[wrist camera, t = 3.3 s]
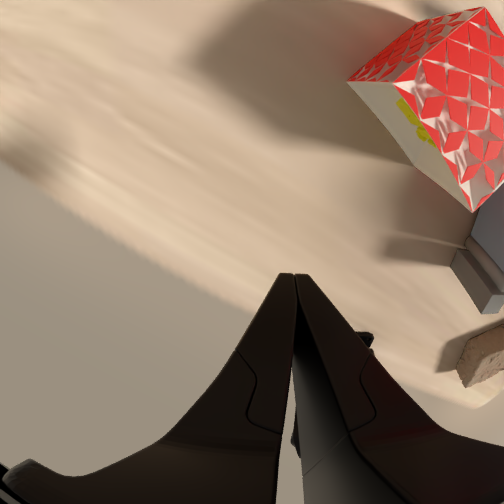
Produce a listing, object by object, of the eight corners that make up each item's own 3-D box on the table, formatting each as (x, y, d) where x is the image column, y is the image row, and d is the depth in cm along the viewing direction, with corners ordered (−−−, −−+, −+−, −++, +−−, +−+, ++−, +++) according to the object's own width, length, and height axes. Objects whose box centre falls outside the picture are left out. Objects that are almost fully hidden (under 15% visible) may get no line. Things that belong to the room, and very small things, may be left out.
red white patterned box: (345, 81, 15) (391, 82, 9) (417, 22, 12) (484, 6, 5) (414, 167, 18) (472, 214, 11) (476, 108, 15) (546, 134, 8)
